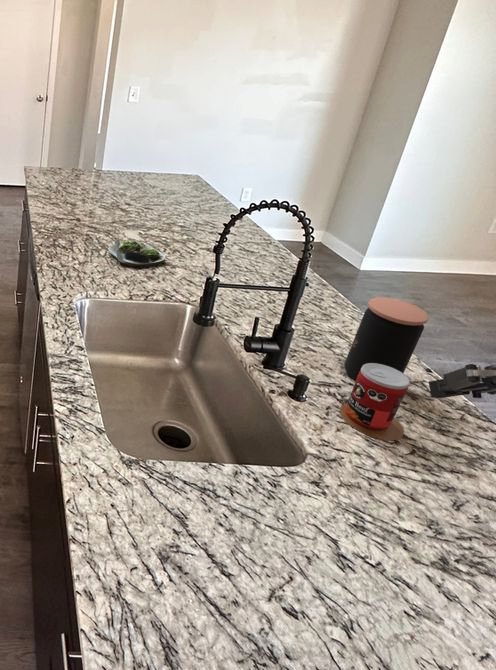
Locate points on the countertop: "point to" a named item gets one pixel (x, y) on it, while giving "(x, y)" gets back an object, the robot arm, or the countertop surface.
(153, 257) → the salad plate
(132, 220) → the countertop surface
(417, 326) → the coffee jar
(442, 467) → the countertop surface
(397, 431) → the cork coaster
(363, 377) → the canned food
